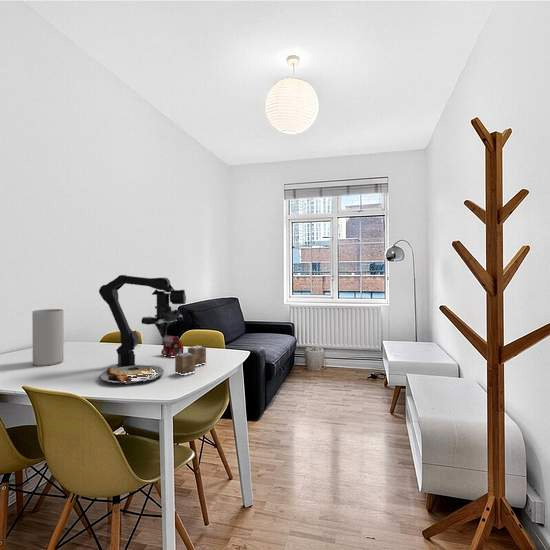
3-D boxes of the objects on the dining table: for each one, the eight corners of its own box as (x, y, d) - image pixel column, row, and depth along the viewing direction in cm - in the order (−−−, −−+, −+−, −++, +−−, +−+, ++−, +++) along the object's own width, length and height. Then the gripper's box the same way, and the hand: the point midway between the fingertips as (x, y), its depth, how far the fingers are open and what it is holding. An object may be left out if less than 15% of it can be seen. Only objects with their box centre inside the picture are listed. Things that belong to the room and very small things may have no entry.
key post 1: (195, 367, 165) (195, 349, 165) (187, 364, 169) (187, 347, 169) (205, 364, 170) (205, 347, 170) (198, 362, 174) (198, 345, 174)
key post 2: (183, 376, 151) (183, 357, 151) (175, 373, 155) (175, 355, 155) (195, 373, 156) (195, 354, 155) (186, 370, 160) (187, 352, 159)
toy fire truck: (177, 358, 181) (177, 338, 181) (158, 356, 186) (158, 336, 186) (186, 355, 187) (186, 335, 187) (167, 353, 192) (168, 333, 192)
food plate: (93, 388, 135) (93, 379, 135) (104, 372, 157) (104, 364, 157) (163, 384, 142) (163, 375, 142) (164, 369, 164) (164, 361, 164)
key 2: (183, 374, 153) (184, 355, 152) (178, 372, 155) (178, 353, 155) (191, 372, 155) (191, 353, 155) (186, 370, 158) (186, 352, 158)
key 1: (195, 365, 167) (195, 347, 167) (191, 363, 169) (191, 346, 169) (202, 363, 170) (202, 346, 170) (197, 362, 172) (197, 345, 172)
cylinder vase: (48, 367, 164) (48, 312, 163) (25, 365, 166) (25, 311, 166) (69, 360, 176) (69, 309, 176) (48, 358, 179) (47, 308, 178)
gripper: (153, 307, 156) (153, 342, 156) (189, 304, 170) (189, 336, 170) (140, 305, 164) (140, 339, 164) (176, 302, 178) (176, 333, 178)
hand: (162, 337), depth 169 cm, fingers closed
